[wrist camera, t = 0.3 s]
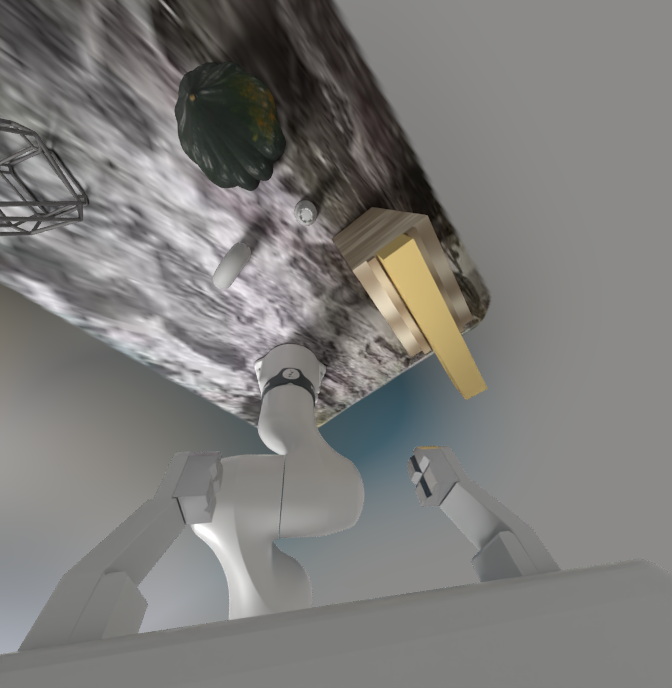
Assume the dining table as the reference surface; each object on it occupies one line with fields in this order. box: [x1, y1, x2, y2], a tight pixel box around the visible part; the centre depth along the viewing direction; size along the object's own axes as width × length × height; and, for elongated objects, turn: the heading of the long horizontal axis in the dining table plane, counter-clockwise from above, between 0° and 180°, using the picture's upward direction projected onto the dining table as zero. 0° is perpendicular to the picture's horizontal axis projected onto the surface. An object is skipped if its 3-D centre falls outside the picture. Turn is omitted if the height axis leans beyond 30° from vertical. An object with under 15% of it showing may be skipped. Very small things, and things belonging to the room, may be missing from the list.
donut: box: [212, 243, 251, 289], centre depth 47 cm, size 10×4×10 cm, turn 139°
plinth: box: [332, 207, 473, 357], centre depth 43 cm, size 16×10×27 cm, turn 35°
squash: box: [175, 61, 286, 191], centre depth 37 cm, size 14×15×15 cm
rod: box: [376, 234, 487, 400], centre depth 33 cm, size 26×4×4 cm, turn 35°
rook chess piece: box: [294, 200, 317, 226], centre depth 45 cm, size 4×4×8 cm
